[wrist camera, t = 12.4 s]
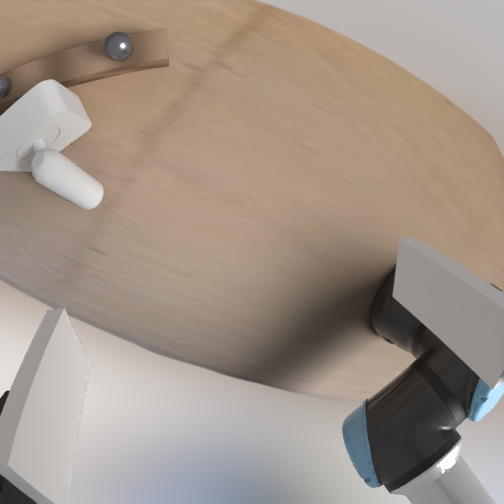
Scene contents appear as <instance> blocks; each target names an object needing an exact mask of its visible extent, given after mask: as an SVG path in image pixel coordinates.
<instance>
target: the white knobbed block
mask: <svg viewBox="0 0 504 504" xmlns="http://www.w3.org/2000/svg"><path fill="white" fill-rule="evenodd" d="M91 125H92V124H91V122H90V120H89V117H88V115H87V113H86V111H85V109H84V107H83V105H82V103H81V101H80V99H79V97H78V96H77V95H76V94H74V93H73V92H72V91H70V90H69V89H67V88H66V87H64V86H63V85H61V84H60V83H58V82H57V81H55V80H52V79H50V80H45V81H42V82H40V83H38V84H37V85H35V86H34V87H33V88H32V89H30V90H29V91H28V92H27V93H26V94H24V95H23V96H22V97H21V98H20V99H19V100H17V101H16V102H15V103H14V104H13V105H12V106H11V107H10V108H9V109H7V110H6V111H5V112H4V113H3V114H2V115H1V116H0V171H22V172H30V171H31V172H32V175H33V177H34V179H35V180H36V181H37V182H38V183H39V184H41V185H43V186H44V187H46V188H48V189H49V190H51V191H53V192H55V193H57V194H58V195H60V196H62V197H64V198H66V199H67V200H69V201H71V202H73V203H75V204H76V205H78V206H80V207H82V208H84V209H86V210H90V209H93V208H95V207H96V206H97V205H98V204H99V203H100V202H101V200H102V197H103V192H104V191H103V186H102V184H101V183H100V182H98V181H97V180H96V179H94V178H93V177H92V176H90V175H89V174H88V173H86V172H85V171H84V170H82V169H81V168H80V167H78V166H77V165H76V164H74V163H73V162H72V161H70V160H69V159H68V158H66V157H65V156H64V155H62V154H61V153H60V151H61V150H63V149H64V148H65V147H67V146H68V145H69V144H70V143H72V142H73V141H75V140H76V139H77V138H79V137H80V136H81V135H83V134H84V133H85V132H87V131H88V130H89V129H90V127H91Z"/></svg>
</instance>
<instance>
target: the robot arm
mask: <svg viewBox="0 0 504 504" xmlns="http://www.w3.org/2000/svg"><path fill="white" fill-rule="evenodd" d="M371 322H372V326H373V328H374V330H375V331H376V332H377V333H378V334H379V335H380V336H381V338H382V339H384V340H385V341H387V342H388V343H391V344H395V345H396V346H398V347H400V348H401V349H403V350H406V351H408V352H410V353H412V354H413V355H414V356H415V358H416V359H417V360H415V361H414V362H413V363H412V364H411V365H410V366H409V367H407V368H406V369H405V370H404V371H403V372H402V373H401V374H400V375H398V376H397V377H396V378H395V379H394V380H393V381H391V382H390V383H389V384H388V385H387V386H385V387H384V388H383V389H382V390H380V391H379V392H378V393H377V394H375V395H374V396H373V397H371V398H370V399H366V400H365V401H364V402H363V404H362V405H361V406H360V407H358V408H357V409H356V410H355V411H354V412H352V413H351V414H350V415H349V416H348V417H347V418H346V419H345V421H344V423H343V427H342V433H343V438H344V443H345V446H346V449H347V452H348V454H349V457H350V459H351V461H352V463H353V465H354V467H355V468H356V470H357V472H358V474H359V475H360V477H361V478H363V479H364V481H365V483H366V484H367V485H368V486H370V487H372V488H375V487H380V486H382V485H384V486H385V487H386V489H387V490H388V492H389V493H390V494H400V495H405V496H407V498H408V499H409V500H410V502H411V503H412V504H496V503H495V502H494V501H493V499H492V498H491V496H490V495H489V494H488V492H487V491H486V490H485V488H484V487H483V485H482V484H481V482H480V481H479V480H478V478H477V477H476V476H475V474H474V473H473V472H472V470H471V469H470V468H469V466H468V465H467V464H466V462H465V461H464V460H463V458H462V457H461V456H460V449H461V443H462V437H461V436H460V435H459V433H458V432H457V431H456V427H457V426H459V425H460V424H461V423H462V422H463V421H464V420H465V419H466V418H468V419H469V420H470V421H474V422H477V421H479V420H480V419H482V418H483V417H484V415H486V414H487V413H488V412H489V411H490V410H491V409H492V408H493V407H494V405H495V404H496V403H497V402H498V400H499V399H500V397H501V396H502V395H503V393H504V293H503V292H502V290H500V289H499V288H497V287H496V286H494V285H493V284H490V283H488V282H486V281H485V280H483V279H482V278H480V277H479V276H477V275H476V274H474V273H472V272H471V271H469V270H468V269H466V268H464V267H463V266H461V265H460V264H458V263H456V262H455V261H453V260H451V259H450V258H448V257H447V256H445V255H443V254H442V253H440V252H438V251H436V250H435V249H433V248H431V247H430V246H428V245H426V244H424V243H423V242H421V241H419V240H418V239H416V238H414V237H412V236H411V237H407V238H403V239H399V240H398V252H397V262H396V270H395V271H394V272H393V273H392V274H391V275H390V276H389V277H388V278H387V279H386V281H385V282H384V284H383V285H382V287H381V288H380V290H379V292H378V294H377V296H376V298H375V301H374V303H373V307H372V312H371ZM90 368H91V363H90V361H89V359H88V357H87V355H86V353H85V351H84V349H83V347H82V345H81V343H80V341H79V339H78V337H77V335H76V333H75V331H74V328H73V326H72V324H71V321H70V319H69V317H68V315H67V312H66V310H65V308H60V309H54V310H49V311H47V313H46V315H45V317H44V319H43V321H42V322H41V324H40V326H39V328H38V330H37V333H36V334H35V336H34V339H33V340H32V342H31V344H30V347H29V349H28V351H27V353H26V355H25V357H24V360H23V362H22V364H21V366H20V369H19V371H18V373H17V375H16V378H15V380H14V382H13V385H12V387H11V390H10V391H6V392H5V393H4V394H3V396H2V397H1V398H0V504H70V501H71V500H70V499H71V487H72V476H73V467H74V458H75V451H76V444H77V437H78V430H79V424H80V418H81V413H82V407H83V402H84V396H85V391H86V387H87V382H88V377H89V373H90Z"/></svg>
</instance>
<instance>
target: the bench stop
mask: <svg viewBox="0 0 504 504" xmlns="http://www.w3.org/2000/svg"><path fill="white" fill-rule="evenodd" d="M165 66H169V53H168V38H167V28H164V29H157V30H151V31H144V32H139V33H133V34H128V35H126V34H125V33H123V32H115V33H113V34H111V35H110V36H108V38H107V39H105V40H100V41H96V42H92V43H89V44H85V45H81V46H78V47H74V48H71V49H67V50H64V51H61V52H58V53H55V54H52V55H49V56H46V57H43V58H40V59H38V60H35V61H32V62H30V63H27V64H24V65H22V66H19V67H17V68H15V69H12V70H10V71H7V72H5V73H3V74H1V75H0V112H1V111H3V110H5V109H8V108H10V107H11V106H12V105H13V104H14V103H15V102H16V101H17V100H19V99H20V98H21V97H22V96H23V95H24V94H26V93H27V92H28V91H29V90H30V89H32V88H33V87H34V86H35V85H37V84H38V83H40V82H42V81H45V80H50V79H52V80H55V81H57V82H58V83H60V84H61V85H63V86H64V87H66V88H68V87H72V86H75V85H79V84H82V83H86V82H90V81H94V80H98V79H102V78H107V77H111V76H115V75H120V74H125V73H130V72H135V71H141V70H146V69H152V68H159V67H165Z"/></svg>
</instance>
